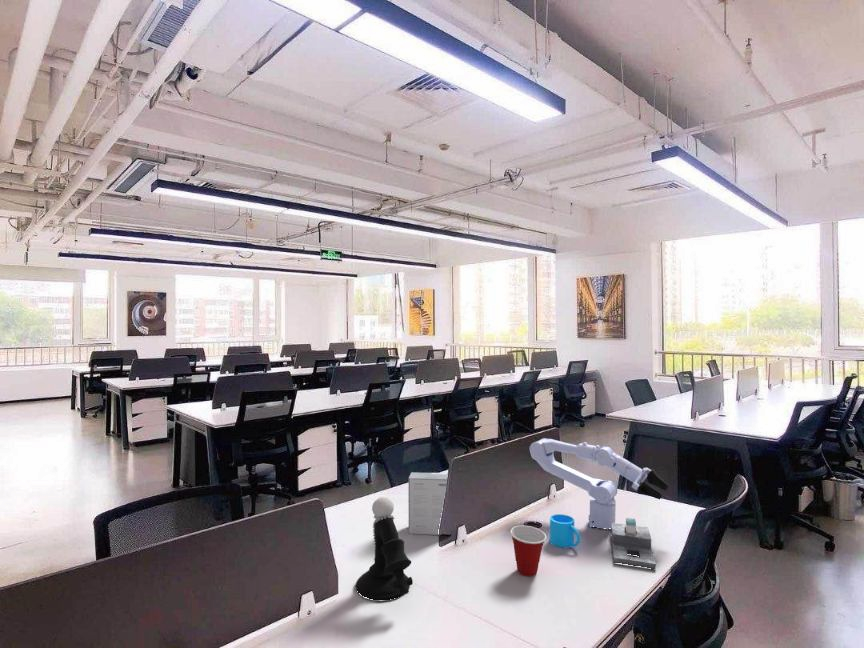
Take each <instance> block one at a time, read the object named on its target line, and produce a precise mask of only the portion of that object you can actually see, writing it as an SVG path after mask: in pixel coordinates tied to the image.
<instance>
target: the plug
mask: <svg viewBox="0 0 864 648" xmlns="http://www.w3.org/2000/svg"><path fill="white" fill-rule="evenodd" d="M625 525H626V533H631V534H636V526H637V521H636V519H635V518H632V517H626V518H625Z"/></svg>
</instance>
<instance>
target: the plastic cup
mask: <svg viewBox="0 0 864 648" xmlns="http://www.w3.org/2000/svg"><path fill="white" fill-rule="evenodd" d="M510 535H511V539H512V543H513V550H514V551H513V552H514V557H515V562H516V570H517V573H519V574H520V575H521V576H525V577H534V576H537V575H536V574H537V573H538V569H539V565H540V560H541V556H542V550H543V546H544V544H545V541H546V540H547V535H546V533H545V532H544V531H543V530H541V529H539V528H537V527H534V526H531V525H516V526H513V527H512V528H510ZM533 575H534V576H533Z"/></svg>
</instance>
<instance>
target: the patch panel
mask: <svg viewBox="0 0 864 648" xmlns="http://www.w3.org/2000/svg"><path fill="white" fill-rule="evenodd" d="M610 531H611V534H612V536H611V546H613V548H612V556H613V557H612V559H613V558H614V560H613V564H614V563H622V564H628V565H633V566H641V567H647V568H651V569H655V570H656V565H657V564H656V560H655V557H654V552H653V548H652V537H651V534H650V529H649V527H646V526H641V525H636V534H631V533H626V523H625V524H624V523H617V522H616V523H612V530H610ZM627 554H631V555H637V556H639V557H633V556H627Z"/></svg>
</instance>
